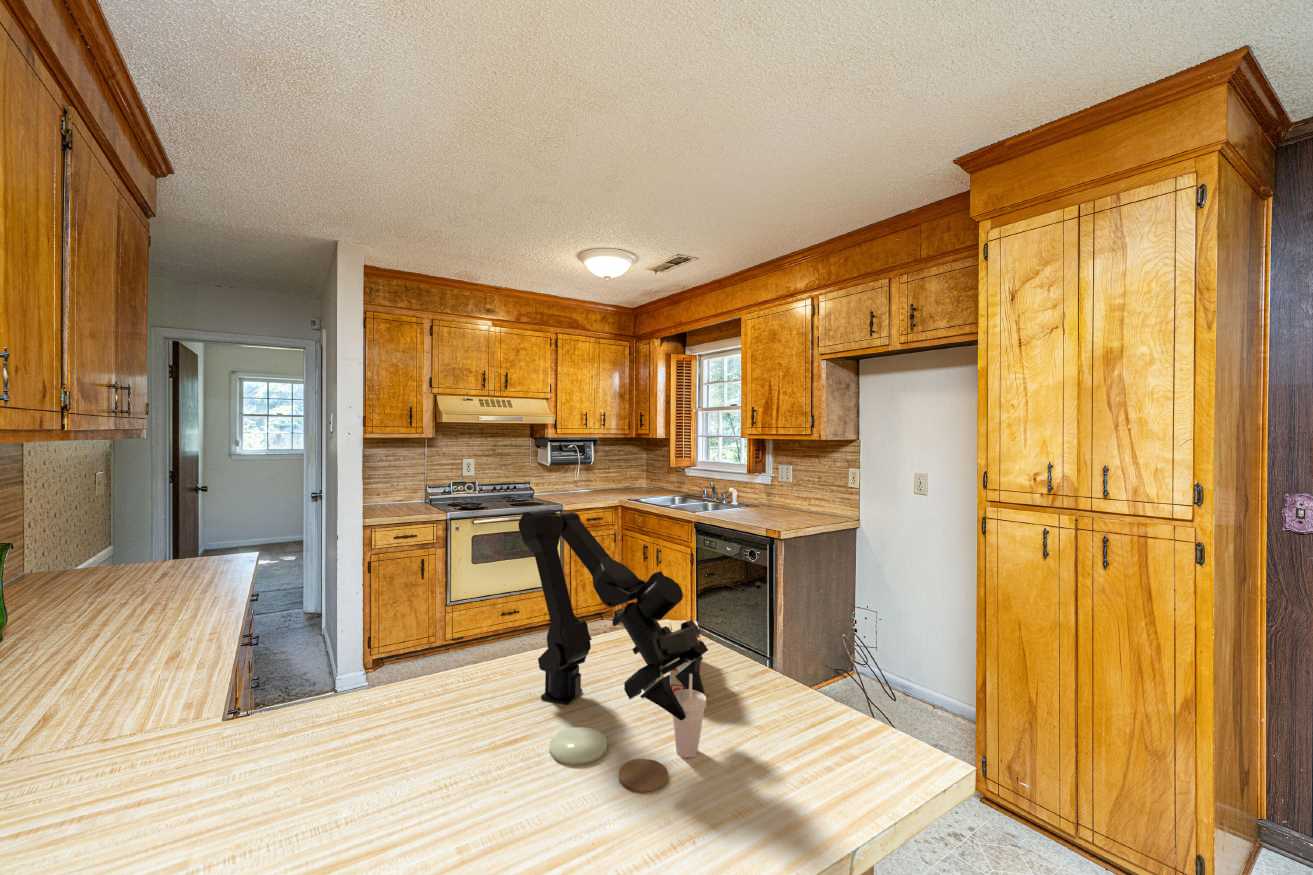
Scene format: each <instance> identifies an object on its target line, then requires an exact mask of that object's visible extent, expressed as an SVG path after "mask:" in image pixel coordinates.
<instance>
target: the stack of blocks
mask: <svg viewBox="0 0 1313 875" xmlns="http://www.w3.org/2000/svg"><path fill="white" fill-rule="evenodd" d="M686 621H687V620H685V619H684V620H683V619H682V620H672V619H671V620H669V627H668V628H669V629H670V630H671V632H674V631H677V630H679V629H681V624H682V623H684V622H686ZM693 622H694V623H695V624H696V625H697V627H698V629H699V630H700V628H699V623H698V621H696V620H693ZM697 638H698V640H700V641H702V638H701V634H700V635H699V637H697ZM701 663H702V661H701V662H700V668H699V672H700V673H701V669H702V668H701V666H702V664H701ZM669 674H670V687H671V689H672V691H673V693H674V692H675V691H678V690H682V689H686V688H685V687H684V686H683V685H682V684H681V682H680V681H679V680H678V679H677V678H676V677H675V676H676V675H677V674H679V672H678V670H677V668H675V669H673V670H672V671H670V672H669Z"/></svg>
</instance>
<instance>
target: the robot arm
mask: <svg viewBox="0 0 1313 875" xmlns="http://www.w3.org/2000/svg"><path fill="white" fill-rule="evenodd" d="M518 530H519V534H520V536H521V539H522V541H523V544H524V545H525V546H526V547H527V548H528V549H529V551H530V552H532V553H533V555H534V558H535V562H536V567H537V571H538V575H539V579H540V583H541V588H542V592H543V596H544V600H545V603H546V604H545V605H546V608H547V612H548V617H549V621H550V622H549V628H548V632H547V635H546V643H547V645H546V646H547V649H546V650H545V651H544V652H543V653H542V654H541V655H540V656H539V657H538V659H537V662H538V667H539V670H540V671H543V672H545V674H544V675H545V680H544V682H545V683H544V693H543V694H541V695H540V699H541V700H544V701H551V702H555V703H560V704H564V705H570V703H572V702H573V701H574V700H576V698H577V697H578V696H579V695H580V694H581V693H582V692H583V688H581V686H582V673H580V665H581V664H585V663H586V660H587V656H588V655H589V653H590V651H591V641H592V639H593V638H592V637H591V634H590V632H589V627H588V623H587V621H586V620H583V621H581V620H580V619H579V618H578V617H577V616H576V615H575V613H574V609H573V605H572V601H571V596H570V592H569V589H568V585H567V582H566V577H565V573H564V569H563V565H562V560H561V557H560V553H559V548H558V547H559V543H560V539H561V537H562V539H563V540H564V541H565V542H566V544H567V545H568V546H569V548H570V549H571V550H572V551H573V553H574V554H575V555H576V556H577V558H578V559H579V561H580V562H581V563H582V564H583V566H584V567H585V568H586V569H587V570H588V572H589V573H590V575H591V578H592V584H593V585H592V587H593V588H594V591H595V592H596V594H597V596H598V597H599V599H600V601H601V602H602V604H603V605H604V606H606V607H610V608H614V607H617V606H618V607H619V606H620V605H623V604H626V603H627V604H626V606H624V607H623V608H619V609H616V610H614V611H613V619H612V622H611V623H612V626H613V627H616V626H619V625H621V624H622V626H623V627H624V629H625V630H626V632H627V633H628V634H627V635H629V637H630V639H631V640H632V642H633V644H634V645H635V647H633V648H632V650H631V651H632V652H633V653H634V655H637V654H640V655H641V657H642V659H643V661H644V663H645V664H646V665H645V666H643V667H641V668H639V669H638V670H637V671H636V672H634V673H633V674H632V675H631V676H629V678H628V679H627V680H625V681H624V682H623V683H624V687H623V690H624V692H625V694H626V695H627V697H628V699H629V700H631V699H634V698H635V697H637V696H639V695H640V698H641V699H646V700H648V701H650V702H652V703H654V704H655V705H657V706H658V707H660V708H662V709H664V710H665V711H666V712H668V713H669V714H670V715H672V717H673V716H675V717H676V718H678V719H679V720H681V721H682V720H683V719H685V718H686V716H685V714H684V711H683V709H682V707H681V705H680V704H679V702H678V700H677V698H676V696H675V694H674V693H673V691H672V689H671V687H670V671H672V670H673V669H675V668H677V670H678V672H679V674H677V675H676V676H675V677H676V678H677V679H678V680H679V681H680V682H681V684H682V685H683V686H684V687H685V688H686V689H689V674H690V673H692V690H696V691H699V692H701V693H703V694H704V695H705V696H706V693H705V690H704V685H703V682H702V678H701V671H700V672H699V668H700V662H701V663H702V661H703V658H704V657H703V655H704V654H706V653H707V652H708V651H709V649H708V648H707V646H706V644H705V642H703V640H701V641H700V640H698V638H697V637H699V635H700V636H701V629H700V628H699V629H698V627H699V626H698V627H697V625H696V624H695V623H694V622H693V621H694V620H693V619H690V620H689V619H688V620H685V621H686V622H684V623H682V624H681V629H679V630H677V631H674V632H671V630H670V629H669V627H668V626H663V627H662V626H661V624H660V623H659V621H658V620H662V619H663V618H665V616H666V615H667V614H669V613H670V611H672V610H673V609H674V608H675V607H676V606H677V605H679V603H681V601H682V600H683V598H684V597H683V596H684V595H683V589H682V588H681V586H680V585H679V583H678V582H676V581H675V580H674V579H672V578H671V577H669V576H666V575H664V574H663V572H662V571H661V570H660V571H656V572H653V573H652V574H651V575H650V577H649V578H648V580H647V581H646V580H643V579H641V578H639V577H638V576H637V575H636V574H635V573H634V572H633V571H632V570H631V569H630V568H629V567H627V566H626V565H625V564H623V563H621V562H620V561H617V560H615V559H613V558H612V557H611V556H610V555H609V553H608V552H607V551H606V550H605V549H604V548H603V546H602V545H601V544H600V542H599V541H598V540H597V538H595V536H594V535H593V534H592V533H591V532H590V530H589V529H588V528H587V527H586V526H585V524H584V523H583V522H582V520H581V516H580V514H578V513H577V512H575V511H568V512H556V511H554V510H553V509H551V508H546V509H540V510H532V511H525V512H524V513H523V514H522V516H520V520H519V521H518ZM634 600H636V602H635V601H634ZM632 601H633V602H632ZM668 673H669V674H668ZM666 674H667V675H666ZM664 675H665V676H664ZM642 691H643V693H642ZM706 703H707V704H708V700H707V698H706Z"/></svg>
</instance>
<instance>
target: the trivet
mask: <svg viewBox="0 0 1313 875" xmlns="http://www.w3.org/2000/svg"><path fill="white" fill-rule="evenodd" d="M618 780H619V783H620V784H621V785H622V786H623V788H625V789H627V790H629V791H630V792H633V793H639V794H648V793H654V792H658V791H659V790H661V789H663V788H664V787H665V786H666V785H667V784H668V781H669V770H668V769H667V767H666V766H665V765H664V764H663V763H661V762H659V761H656V760H654V759H650V758H648V759H647V758H637V759H632V760H630V761H628V762H625V763H624V764H622V766H621V767H620V768H619V771H618Z"/></svg>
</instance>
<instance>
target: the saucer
mask: <svg viewBox="0 0 1313 875" xmlns="http://www.w3.org/2000/svg"><path fill="white" fill-rule="evenodd" d="M548 750H549V753H550V756H551V758H553V759H554V760H555V761H557V762H558V763H561V764H565V765H570V766H583V765H587V764H591V763H594V762H597V761H598V760H601V758H603V757H604V755H605V754H606V752H607V750H608V739H607V737H606V735H605V734H604V733H602V732H601V731H599V730H598V729H595V728H591V727H584V726H582V727H581V726H580V727H579V726H578V727H576V726H575V727H571V728H567V729H563V730H561V731H559V732H557V733H556V734H555V735H553V737H552V738H551V739H550V741H549V749H548Z"/></svg>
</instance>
